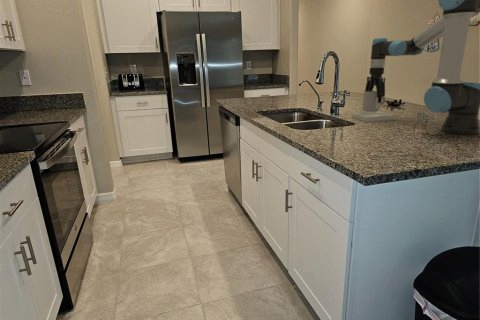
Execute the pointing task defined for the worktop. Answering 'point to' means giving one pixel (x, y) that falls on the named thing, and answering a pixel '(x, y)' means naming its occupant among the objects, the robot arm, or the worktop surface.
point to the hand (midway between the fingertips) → (372, 107)
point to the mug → (370, 101)
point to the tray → (372, 116)
